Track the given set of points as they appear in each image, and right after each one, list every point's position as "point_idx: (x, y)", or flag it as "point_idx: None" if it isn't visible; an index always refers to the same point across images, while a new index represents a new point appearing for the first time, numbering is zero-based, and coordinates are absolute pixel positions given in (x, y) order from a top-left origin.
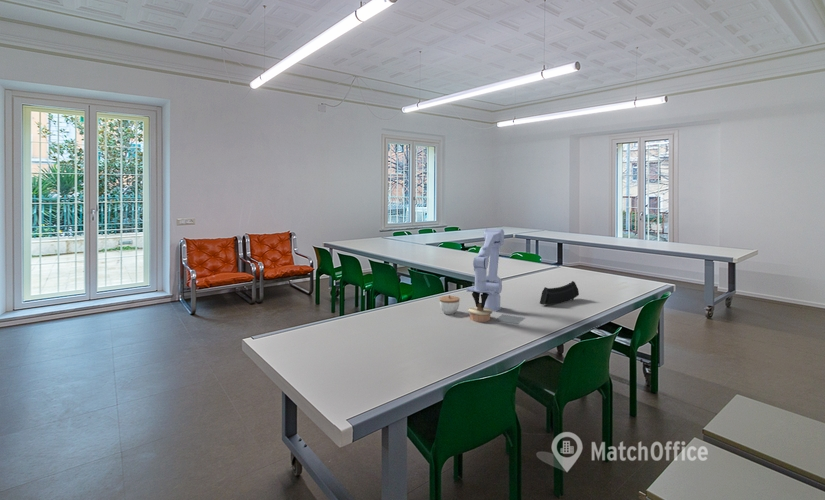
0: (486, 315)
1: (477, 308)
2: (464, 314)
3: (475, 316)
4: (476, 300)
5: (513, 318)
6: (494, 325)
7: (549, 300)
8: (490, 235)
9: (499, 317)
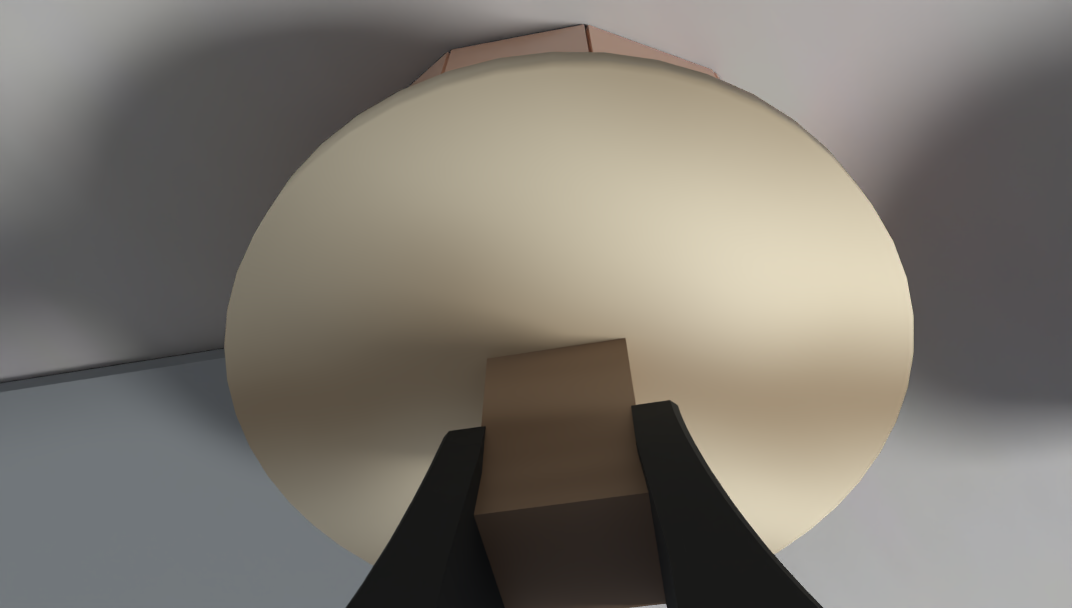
0: None
1: (621, 377)
2: (1024, 324)
3: None
4: (671, 565)
5: (135, 593)
6: (28, 102)
7: None
8: None
9: None
